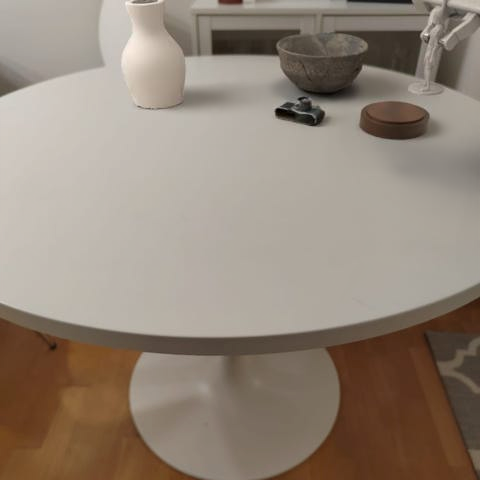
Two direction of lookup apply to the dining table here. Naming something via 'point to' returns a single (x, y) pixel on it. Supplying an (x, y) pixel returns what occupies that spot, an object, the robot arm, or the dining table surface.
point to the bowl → (321, 60)
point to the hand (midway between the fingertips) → (434, 43)
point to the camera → (300, 111)
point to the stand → (394, 120)
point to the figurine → (431, 58)
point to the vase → (152, 58)
